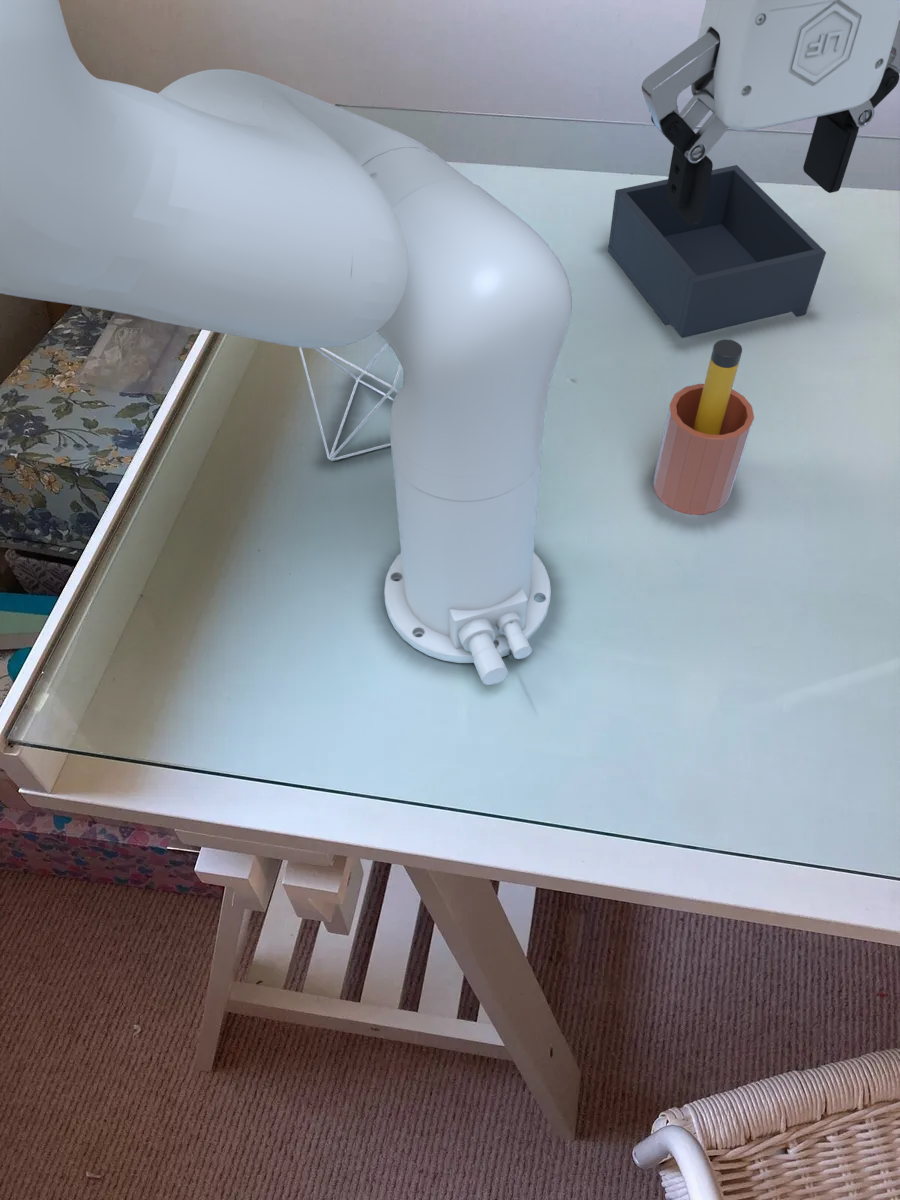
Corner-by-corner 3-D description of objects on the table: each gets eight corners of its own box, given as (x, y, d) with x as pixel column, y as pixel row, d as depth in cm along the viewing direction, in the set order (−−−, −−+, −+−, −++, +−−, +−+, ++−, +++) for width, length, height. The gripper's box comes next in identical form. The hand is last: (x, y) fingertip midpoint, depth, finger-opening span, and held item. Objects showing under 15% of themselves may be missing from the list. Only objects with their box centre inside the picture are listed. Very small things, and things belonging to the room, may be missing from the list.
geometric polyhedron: (375, 491, 80) (366, 408, 73) (284, 433, 85) (268, 349, 77) (469, 413, 86) (470, 329, 79) (380, 363, 90) (373, 279, 83)
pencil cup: (741, 509, 78) (769, 427, 71) (673, 529, 77) (694, 447, 70) (705, 459, 82) (728, 376, 75) (639, 477, 81) (656, 394, 74)
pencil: (708, 491, 78) (747, 353, 67) (686, 497, 78) (722, 359, 67) (696, 475, 80) (733, 336, 68) (675, 481, 79) (708, 342, 68)
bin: (805, 314, 94) (826, 252, 88) (680, 344, 91) (693, 282, 86) (723, 225, 103) (737, 164, 98) (607, 250, 101) (615, 189, 95)
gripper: (713, -82, 43) (655, 259, 56) (1034, -135, 46) (906, 200, 60) (638, -134, 47) (601, 194, 61) (936, -178, 50) (838, 143, 64)
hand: (752, 197), depth 60 cm, fingers open, 9 cm apart
